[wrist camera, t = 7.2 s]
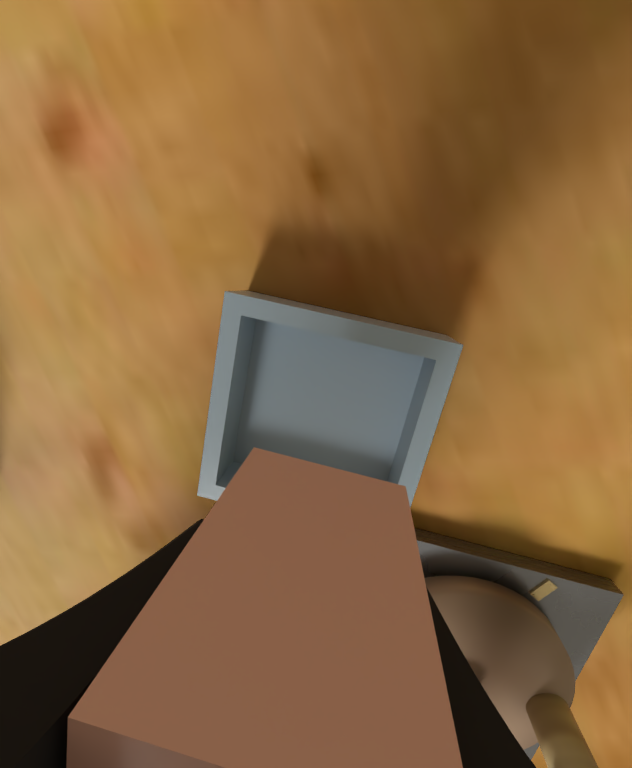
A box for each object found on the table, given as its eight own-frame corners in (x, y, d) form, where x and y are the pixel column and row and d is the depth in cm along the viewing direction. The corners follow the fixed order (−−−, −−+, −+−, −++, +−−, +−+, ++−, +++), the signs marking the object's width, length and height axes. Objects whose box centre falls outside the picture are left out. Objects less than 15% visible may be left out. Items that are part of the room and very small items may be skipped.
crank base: (315, 685, 23) (313, 704, 22) (365, 514, 20) (365, 527, 19) (520, 746, 23) (528, 768, 22) (610, 579, 19) (624, 596, 18)
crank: (332, 701, 22) (323, 823, 17) (379, 551, 19) (384, 646, 14) (530, 760, 21) (581, 906, 16) (612, 613, 18) (707, 738, 13)
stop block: (231, 569, 12) (61, 931, 5) (253, 447, 11) (67, 717, 4) (366, 607, 12) (368, 1043, 5) (405, 486, 10) (480, 849, 4)
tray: (220, 465, 20) (197, 495, 17) (247, 290, 18) (225, 291, 15) (392, 510, 20) (396, 548, 17) (446, 335, 17) (463, 344, 14)
